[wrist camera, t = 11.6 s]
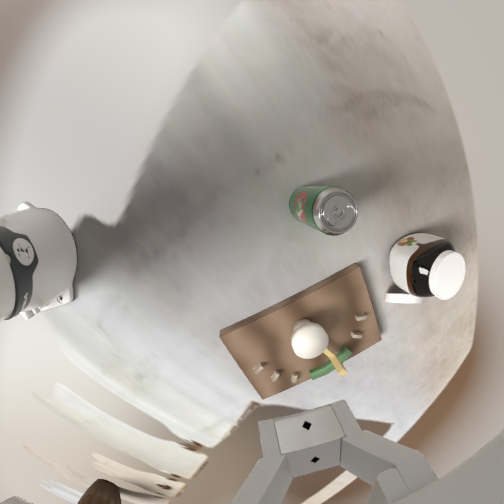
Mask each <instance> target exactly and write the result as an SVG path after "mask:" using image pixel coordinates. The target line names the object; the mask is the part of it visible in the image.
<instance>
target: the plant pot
mask: <svg viewBox="0 0 504 504" xmlns="http://www.w3.org/2000/svg"><path fill="white" fill-rule="evenodd" d="M78 504H121V498H120V492H119V488H118V487H117V486H116V485H115V484H114V483H112V482H109V481H107V480H104V479H97V480H96V481H95V482H94V483H93V484H92V485H91V486H90V487H89V488H88V489H87V491H86V492H85V493H84V494H83V496H82V497H81V499H80V500H79V502H78Z"/></svg>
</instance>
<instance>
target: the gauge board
mask: <svg viewBox="0 0 504 504" xmlns="http://www.w3.org/2000/svg"><path fill="white" fill-rule="evenodd" d="M302 319H307V320H309V321H310V322H313V323H317V324H319V325H321V326H322V327H323V329H324V330H325V332H326V333H327V335H328V338H329V342H328V346H327V348H328V349H330V350H331V351H332V352H333V353H334V354H335V355H337V356H338V358H339V359H340V361H341V363H343V362H344V361H346V360H348V359H350V358H351V357H353V356H355V355H357V354H358V353H360V352H362V351H364V350H365V349H367V348H369V347H370V346H372V345H374V344H375V343H377V342H379V341H380V340H382V339H381V335H380V331H379V328H378V324H377V321H376V317H375V314H374V310H373V307H372V303H371V300H370V297H369V294H368V290H367V287H366V284H365V281H364V278H363V275H362V272H361V269H360V267H359V266H358V265H356V264H352V265H350V266H348V267H346V268H345V269H343V270H341V271H339V272H337V273H335V274H334V275H332V276H330V277H328V278H326V279H324V280H322V281H320V282H319V283H317V284H315V285H313V286H311V287H309V288H307V289H305V290H303V291H301V292H299V293H297V294H295V295H293V296H291V297H289V298H287V299H285V300H283V301H281V302H279V303H277V304H275V305H273V306H271V307H269V308H267V309H265V310H263V311H261V312H259V313H257V314H255V315H252V316H250V317H248V318H246V319H244V320H242V321H240V322H238V323H235V324H233V325H231V326H229V327H227V328H224V329H222V330H220V338H221V340H222V341H223V343H224V345H225V346H226V348H227V349H228V351H229V352H230V354H231V355H232V357H233V358H234V359H235V361H236V362H237V364H238V365H239V367H240V368H241V370H242V371H243V373H244V374H245V375H246V377H247V378H248V380H249V381H250V383H251V384H252V385H253V387H254V388H255V390H256V391H257V392H258V394H259V395H260V396H261V398H262V399H265V398H268V397H270V396H272V395H275V394H277V393H280V392H282V391H284V390H287V389H289V388H291V387H293V386H296V385H298V384H300V383H302V382H304V381H306V380H309V379H311V378H312V380H314V379H317V378H319V377H321V376H324V375H326V374H328V373H330V372H331V371H333V370H334V369H335V367H334V365H333V364H332V362H331V360H330V358H329V357H328V356H327V355H326V354H324V353H322V354H320V355H319V356H317V357H315V358H311V359H304V358H301V357H299V356H297V355H296V354H295V352H294V350H293V347H292V345H291V336H292V334H293V327H294V325H295V323H296V322H297V321H299V320H302Z"/></svg>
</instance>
